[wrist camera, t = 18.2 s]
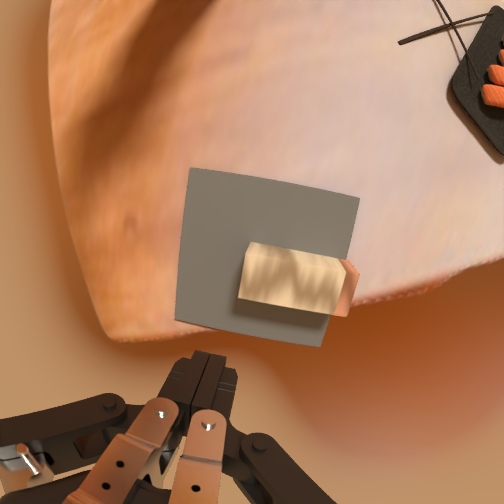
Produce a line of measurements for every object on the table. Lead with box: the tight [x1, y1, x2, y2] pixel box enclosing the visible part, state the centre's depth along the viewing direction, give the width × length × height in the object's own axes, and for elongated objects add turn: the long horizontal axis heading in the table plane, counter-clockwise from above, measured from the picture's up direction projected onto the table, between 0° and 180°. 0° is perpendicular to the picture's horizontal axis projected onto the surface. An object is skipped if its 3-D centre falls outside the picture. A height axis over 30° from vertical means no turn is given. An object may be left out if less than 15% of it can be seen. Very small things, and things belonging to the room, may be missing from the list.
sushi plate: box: [398, 0, 504, 156], centre depth 22 cm, size 29×30×4 cm
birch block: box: [238, 242, 359, 317], centre depth 32 cm, size 5×5×12 cm
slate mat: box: [175, 168, 360, 347], centre depth 35 cm, size 20×20×1 cm
